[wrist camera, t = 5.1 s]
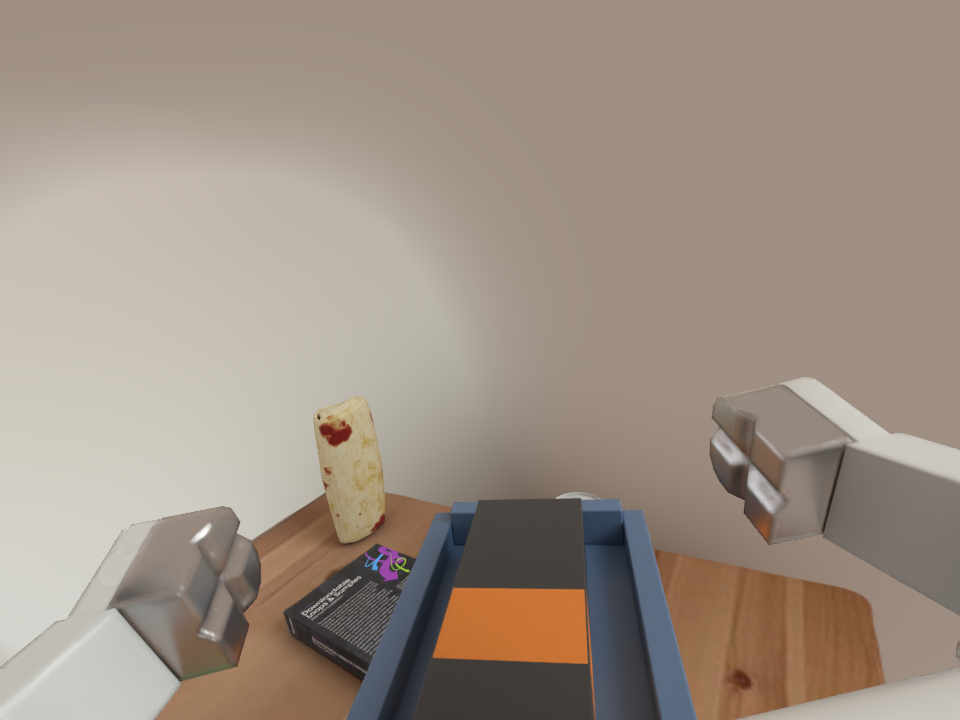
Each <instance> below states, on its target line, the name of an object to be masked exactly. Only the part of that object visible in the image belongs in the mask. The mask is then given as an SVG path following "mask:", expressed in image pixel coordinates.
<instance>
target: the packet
mask: <svg viewBox="0 0 960 720" xmlns="http://www.w3.org/2000/svg"><path fill="white" fill-rule="evenodd" d="M413 720H596V719H595V702H594V684H593V667H592V653H591V637H590V619H589V602H588V584H587V567H586V551H585V538H584V525H583V512H582V499H581V498H562V499H519V500H518V499H514V500H479V501H478V504H477V508H476V511H475V514H474V518H473V521H472V524H471V528H470V531H469V534H468V538H467V541H466V544H465V547H464V551H463V554H462V557H461V561H460V564H459V567H458V571H457V574H456V577H455V581H454V584H453V587H452V590H451V594H450V597H449V600H448V604H447V607H446V610H445V614H444V617H443V620H442V624H441V627H440V630H439V633H438V637H437V640H436V643H435V647H434V650H433V653H432V657H431V660H430V663H429V667H428V670H427V673H426V677H425V680H424V683H423V686H422V690H421V693H420V696H419V700H418V703H417V706H416V710H415V713H414V716H413Z"/></svg>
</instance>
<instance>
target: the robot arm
mask: <svg viewBox="0 0 960 720" xmlns="http://www.w3.org/2000/svg"><path fill="white" fill-rule="evenodd" d="M712 419H713V420H714V421H715V422H716V423H717V424H718V425H719V428H718V429H717V431H716V432H715V433H714V435H713V436H712V437H711V438H710V457H711V461H712V465H713V469H714V471H715V473H716V475H717V477H718V479H719V481H720V482H721V484H722V485H723V486H724V488H725V489H726V491H727V492H728V493H730V494H732V495H734V496H737V497H739V498H741V499H743V500H745V504H744V514H745V515H746V516H747V518H748V519H749V520H750V522H751V523H752V524H753V525H754V527H755V528H756V529H757V530H758V532H759V533H760V534H761V536H763V538H764V539H765V541H766V542H767V543H768V544H769V545H772V544H777V543H782V542H787V541H791V540H797V539H802V538H806V537H812V536H817V535H822V534H823V538H825V539H827V540H829V541H830V542H832V543H834V544H836V545H837V546H839V547H841V548H843V549H844V550H846V551H848V552H850V553H851V554H853V555H855V556H856V557H858V558H860V559H862V560H863V561H865V562H867V563H869V564H870V565H872V566H874V567H876V568H877V569H879V570H881V571H883V572H884V573H886V574H888V575H890V576H891V577H893V578H895V579H897V580H899V581H900V582H902V583H904V584H905V585H907V586H909V587H911V588H913V589H914V590H916V591H918V592H919V593H921V594H923V595H925V596H926V597H928V598H930V599H932V600H933V601H935V602H937V603H938V604H940V605H942V606H944V607H945V608H947V609H949V610H951V611H953V612H954V613H956V614H958V615H959V616H960V450H958V449H954V448H951V447H947V446H944V445H941V444H937V443H934V442H931V441H927V440H924V439H921V438H917V437H914V436H911V435H907V434H904V433H897V434H892V435H891V434H889V433H888V432H886V431H885V430H884V429H882V428H881V427H880V426H878V425H877V424H876V423H874V422H873V421H872V420H870V419H869V418H867V417H866V416H865V415H863V414H862V413H861V412H859V411H858V410H857V409H855V408H854V407H852V406H851V405H850V404H848V403H847V402H846V401H844V400H843V399H842V398H840V397H839V396H838V395H836V394H835V393H833V392H832V391H831V390H829V389H828V388H827V387H825V386H824V385H823V384H821V383H820V382H819V381H817V380H815V379H812V378H808V377H803V378H799V379H795V380H790V381H786V382H782V383H778V384H776V385H773V386H768V387H764V388H759V389H755V390H751V391H746V392H741V393H737V394H733V395H728V396H724V397H719V398H717V399H716V401H715V403H714V405H713V412H712ZM239 524H240V521H239V519H238V518H237V516H236V515H235V513H234V512H233V510H232V509H231V508H229V507H224V506H222V507H217V508H211V509H206V510H201V511H196V512H191V513H186V514H181V515H176V516H171V517H165V518H162V519H159V520H153V521H148V522H143V523H138V524H133V525H130V526H129V527H127V528H126V529H124V530H123V531H121V533H120V535H119V536H118V538H117V539H116V541H115V543H114V544H113V546H112V547H111V549H110V550H109V552H108V554H107V555H106V557H105V559H104V560H103V562H102V563H101V565H100V566H99V568H98V570H97V571H96V573H95V574H94V576H93V578H92V579H91V581H90V582H89V584H88V586H87V587H86V589H85V591H84V592H83V594H82V595H81V597H80V599H79V600H78V602H77V603H76V605H75V607H74V608H73V610H72V611H71V613H70V614H69V616H68V618H67V619H65V620H61V621H56V622H55V623H53V624H52V625H51V626H50V627H49V628H47V629H46V630H45V631H44V632H43V633H42V634H40V635H39V636H38V637H37V638H35V639H34V640H33V641H32V642H31V643H29V644H28V645H27V646H26V647H24V648H23V649H22V650H21V651H20V652H18V653H17V654H16V655H15V656H14V657H12V658H11V659H10V660H9V661H7V662H6V663H5V664H4V665H3V666H1V667H0V720H155V719H156V717H157V716H158V715H159V713H160V712H161V711H162V709H163V708H164V707H165V705H166V704H167V703H168V701H169V700H170V699H171V697H172V696H173V695H174V693H175V692H176V691H177V690H178V688H179V687H180V686H181V682H180V681H183V680H187V679H191V678H195V677H199V676H203V675H206V674H210V673H214V672H218V671H222V670H226V669H230V668H234V667H237V666H238V662H239V659H240V655H241V652H242V648H243V645H244V641H245V638H246V634H247V631H248V627H249V623H248V621H247V620H246V618H245V616H244V614H243V613H244V612H245V611H246V610H247V609H248V608H249V607H250V605H251V604H252V603H253V602H254V601H255V600H256V599H257V595H258V591H259V587H260V583H261V563H260V560H259V556H258V552H257V550H256V548H255V546H254V544H253V543H252V541H251V540H249V539H247V538H245V537H243V536H241V535H239V534H237V530H238V527H239ZM956 657H957V658H958V660H959V661H960V640H959V642H958V644H957V648H956ZM735 720H960V666H958V667H954V668H950V669H946V670H941V671H937V672H933V673H929V674H925V675H920V676H916V677H912V678H908V679H904V680H899V681H895V682H891V683H887V684H883V685H878V686H874V687H870V688H866V689H862V690H857V691H853V692H849V693H845V694H840V695H836V696H832V697H828V698H824V699H819V700H815V701H811V702H807V703H803V704H798V705H794V706H790V707H786V708H782V709H777V710H773V711H769V712H765V713H760V714H756V715H752V716H748V717H744V718H739V719H735Z"/></svg>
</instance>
